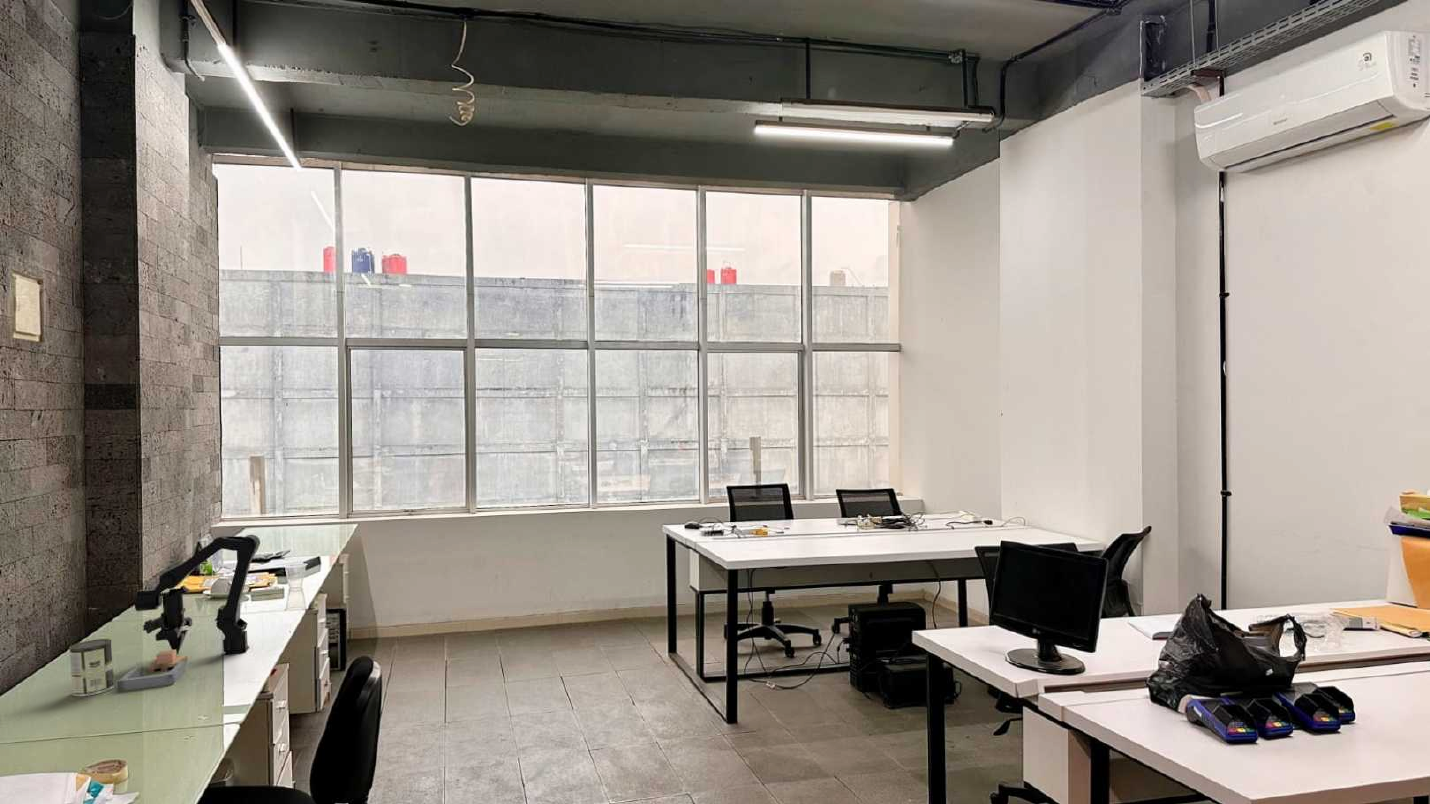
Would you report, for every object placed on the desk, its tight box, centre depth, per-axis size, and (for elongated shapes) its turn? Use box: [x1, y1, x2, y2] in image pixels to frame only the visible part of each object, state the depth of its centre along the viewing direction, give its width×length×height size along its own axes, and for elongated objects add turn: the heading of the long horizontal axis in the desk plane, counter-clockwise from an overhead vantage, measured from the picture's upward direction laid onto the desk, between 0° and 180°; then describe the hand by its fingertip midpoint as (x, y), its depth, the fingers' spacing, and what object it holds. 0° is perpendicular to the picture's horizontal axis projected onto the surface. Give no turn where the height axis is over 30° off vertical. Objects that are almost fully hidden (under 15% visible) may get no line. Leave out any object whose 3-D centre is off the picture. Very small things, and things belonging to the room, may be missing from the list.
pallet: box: [147, 654, 189, 674], centre depth 281 cm, size 9×9×2 cm
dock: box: [117, 662, 187, 692], centre depth 266 cm, size 14×14×3 cm
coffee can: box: [68, 638, 115, 697], centre depth 260 cm, size 10×10×14 cm
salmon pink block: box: [156, 649, 178, 664], centre depth 280 cm, size 4×4×3 cm
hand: (176, 654), depth 289 cm, fingers closed
